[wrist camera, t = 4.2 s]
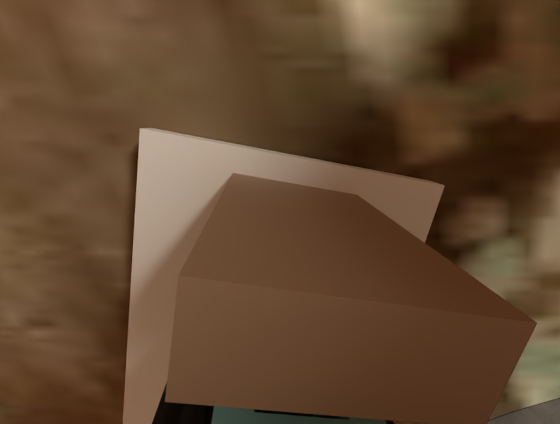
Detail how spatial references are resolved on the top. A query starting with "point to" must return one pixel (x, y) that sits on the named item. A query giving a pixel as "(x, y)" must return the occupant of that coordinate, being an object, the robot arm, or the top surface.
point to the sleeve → (279, 418)
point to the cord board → (303, 292)
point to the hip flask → (532, 415)
